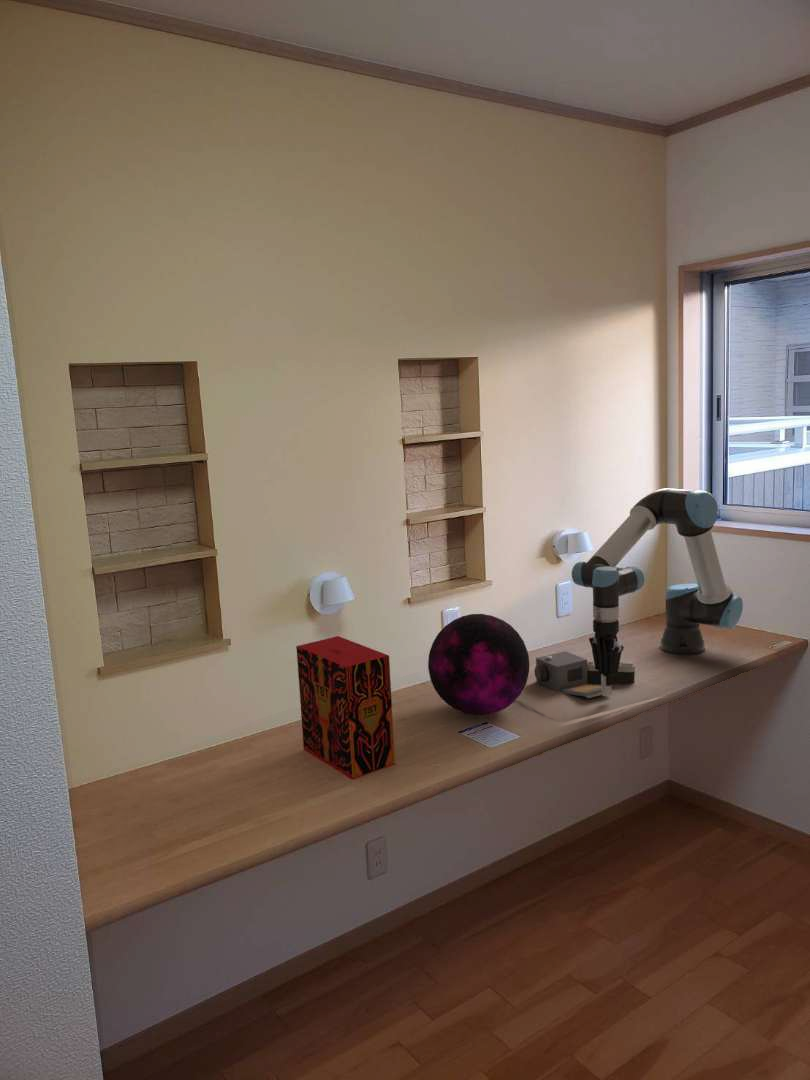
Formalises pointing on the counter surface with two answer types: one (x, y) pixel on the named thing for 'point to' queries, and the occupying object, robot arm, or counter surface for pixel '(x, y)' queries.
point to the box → (346, 705)
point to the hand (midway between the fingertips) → (606, 694)
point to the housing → (561, 670)
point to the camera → (622, 677)
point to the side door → (584, 690)
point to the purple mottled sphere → (478, 664)
